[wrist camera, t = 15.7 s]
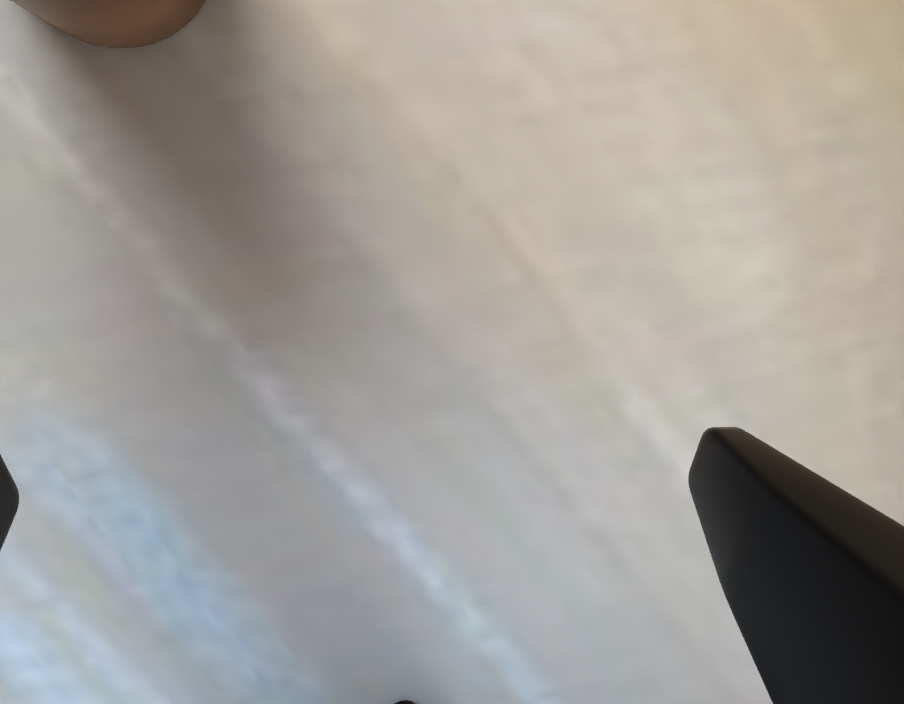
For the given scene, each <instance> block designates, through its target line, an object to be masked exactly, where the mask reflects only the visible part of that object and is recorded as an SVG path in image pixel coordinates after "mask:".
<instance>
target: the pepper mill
mask: <svg viewBox="0 0 904 704" xmlns="http://www.w3.org/2000/svg"><path fill="white" fill-rule="evenodd" d="M11 1H12V2H14V3H16V4H18V5H19V6H21V7H23V8H24V9H26V10H28V11H30V12H31V13H33V14H35V15H36V16H38V17H40V18H41V19H43V20H45V21H47V22H48V23H50V24H52V25H53V26H55V27H57V28H58V29H60V30H62V31H64V32H65V33H67V34H69V35H71V36H73V37H76V38H78V39H80V40H83V41H86V42H89V43H92V44H96V45H101V46H107V47H118V48H128V47H138V46H143V45H147V44H151V43H154V42H157V41H159V40H162V39H164V38H166V37H168V36H170V35H171V34H173V33H175V32H176V31H178V30H179V29H181V28H182V27H183V26H184V25H185V24H187V23H188V22H189V21H190V20H191V19H192V18H193V16H194V15H195V14H196V13H197V12H198V11H199V9H200V8H201V6H202V5H203V3H204V2H205V0H11Z"/></svg>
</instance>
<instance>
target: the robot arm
mask: <svg viewBox="0 0 904 704" xmlns="http://www.w3.org/2000/svg"><path fill="white" fill-rule="evenodd" d="M689 488H690V492H691V495H692V498H693V501H694V504H695V507H696V510H697V513H698V516H699V519H700V522H701V525H702V528H703V531H704V535H705V538H706V541H707V544H708V547H709V550H710V553H711V556H712V559H713V562H714V565H715V568H716V571H717V574H718V577H719V580H720V583H721V586H722V588H723V591H724V594H725V596H726V599H727V601H728V603H729V606H730V608H731V610H732V613H733V615H734V617H735V620H736V622H737V624H738V626H739V628H740V631H741V633H742V635H743V637H744V640H745V642H746V644H747V646H748V649H749V651H750V653H751V655H752V658H753V660H754V662H755V664H756V666H757V669H758V671H759V673H760V675H761V678H762V680H763V682H764V684H765V687H766V689H767V691H768V693H769V696H770V698H771V700H772V702H773V704H904V526H903V525H901V524H899V523H898V522H896V521H894V520H893V519H891V518H889V517H888V516H886V515H884V514H883V513H881V512H879V511H878V510H876V509H874V508H873V507H871V506H869V505H868V504H866V503H864V502H863V501H861V500H859V499H858V498H856V497H854V496H853V495H851V494H849V493H848V492H846V491H844V490H843V489H841V488H839V487H838V486H836V485H834V484H833V483H831V482H829V481H828V480H826V479H824V478H823V477H821V476H819V475H818V474H816V473H814V472H813V471H811V470H809V469H808V468H806V467H804V466H803V465H801V464H799V463H798V462H796V461H794V460H793V459H791V458H789V457H788V456H786V455H784V454H783V453H781V452H779V451H778V450H776V449H774V448H773V447H771V446H769V445H768V444H766V443H764V442H763V441H761V440H759V439H758V438H756V437H754V436H753V435H751V434H749V433H748V432H746V431H744V430H742V429H740V428H737V427H712V428H709V429H707V430H706V431H705V432H704V433H703V435H702V437H701V440H700V442H699V445H698V448H697V451H696V454H695V457H694V459H693V462H692V465H691V468H690V471H689ZM18 504H19V493H18V489H17V486H16V484H15V482H14V480H13V478H12V476H11V475H10V473H9V471H8V469H7V467H6V465H5V463H4V461H3V459H2V457H1V455H0V550H1V548H2V546H3V543H4V541H5V538H6V536H7V534H8V531H9V529H10V526H11V524H12V522H13V519H14V517H15V514H16V512H17V509H18ZM395 704H414V703H412V702H411V701H406V700H404V701H399V702H397V703H395Z"/></svg>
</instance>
